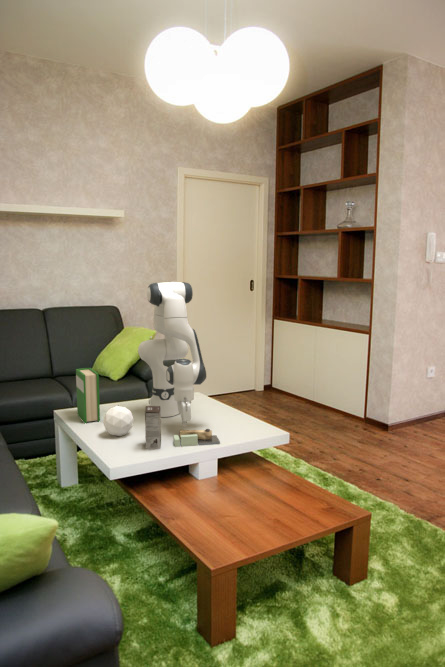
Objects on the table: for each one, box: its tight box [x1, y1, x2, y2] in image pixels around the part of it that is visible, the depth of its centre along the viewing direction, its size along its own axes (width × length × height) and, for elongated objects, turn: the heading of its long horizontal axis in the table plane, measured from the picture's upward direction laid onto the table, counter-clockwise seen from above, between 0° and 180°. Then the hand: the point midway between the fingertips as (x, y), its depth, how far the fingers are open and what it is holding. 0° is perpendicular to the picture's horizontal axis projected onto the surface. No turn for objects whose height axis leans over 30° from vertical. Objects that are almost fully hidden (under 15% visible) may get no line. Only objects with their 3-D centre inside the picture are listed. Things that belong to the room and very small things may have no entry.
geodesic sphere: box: [102, 404, 135, 437], centre depth 238 cm, size 14×14×14 cm
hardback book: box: [75, 367, 101, 424], centre depth 264 cm, size 18×7×24 cm, turn 27°
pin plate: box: [198, 434, 221, 446], centre depth 229 cm, size 9×9×1 cm
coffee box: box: [144, 405, 162, 450], centre depth 223 cm, size 9×6×16 cm
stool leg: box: [179, 428, 213, 440], centre depth 229 cm, size 14×4×4 cm, turn 89°
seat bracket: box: [172, 434, 199, 448], centre depth 226 cm, size 6×10×4 cm, turn 101°
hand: (184, 426), depth 237 cm, fingers closed
